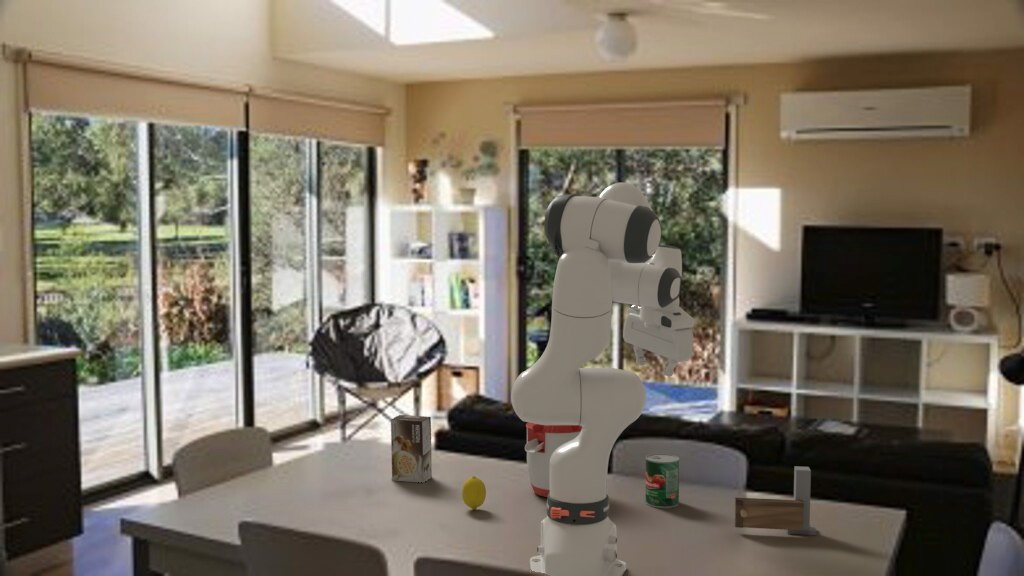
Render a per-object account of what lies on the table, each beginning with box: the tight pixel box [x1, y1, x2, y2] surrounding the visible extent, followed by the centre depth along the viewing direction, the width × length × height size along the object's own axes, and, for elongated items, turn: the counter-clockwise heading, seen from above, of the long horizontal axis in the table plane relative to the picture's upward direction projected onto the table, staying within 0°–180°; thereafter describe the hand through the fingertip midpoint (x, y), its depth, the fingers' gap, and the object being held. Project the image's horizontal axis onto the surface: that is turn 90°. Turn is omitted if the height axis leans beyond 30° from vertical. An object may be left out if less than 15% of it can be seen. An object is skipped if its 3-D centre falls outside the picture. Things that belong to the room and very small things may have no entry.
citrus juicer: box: [524, 422, 582, 498], centre depth 236 cm, size 16×17×20 cm
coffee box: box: [390, 414, 433, 484], centre depth 249 cm, size 9×6×16 cm
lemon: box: [461, 475, 487, 511], centre depth 223 cm, size 6×6×8 cm
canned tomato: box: [645, 453, 680, 509], centre depth 228 cm, size 8×8×11 cm
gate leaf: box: [734, 496, 804, 531], centre depth 205 cm, size 3×14×6 cm, turn 81°
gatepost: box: [785, 465, 818, 536], centre depth 208 cm, size 4×6×14 cm, turn 81°
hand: (654, 369), depth 227 cm, fingers open, 8 cm apart
